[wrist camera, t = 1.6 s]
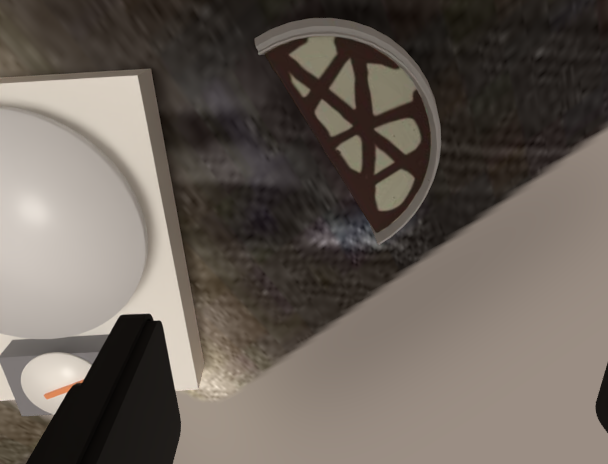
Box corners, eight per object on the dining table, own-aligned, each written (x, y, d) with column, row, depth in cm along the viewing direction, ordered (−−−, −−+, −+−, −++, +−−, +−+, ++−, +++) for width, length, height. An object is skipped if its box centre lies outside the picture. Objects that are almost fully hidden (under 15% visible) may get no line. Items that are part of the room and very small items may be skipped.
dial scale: (-131, 85, 31) (-209, 101, 26) (150, 68, 31) (124, 81, 26) (-7, 375, 42) (-47, 426, 37) (204, 363, 42) (192, 412, 37)
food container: (437, 142, 34) (490, 194, 25) (359, 187, 35) (383, 252, 26) (349, -31, 29) (375, -43, 20) (263, 28, 30) (251, 42, 21)
